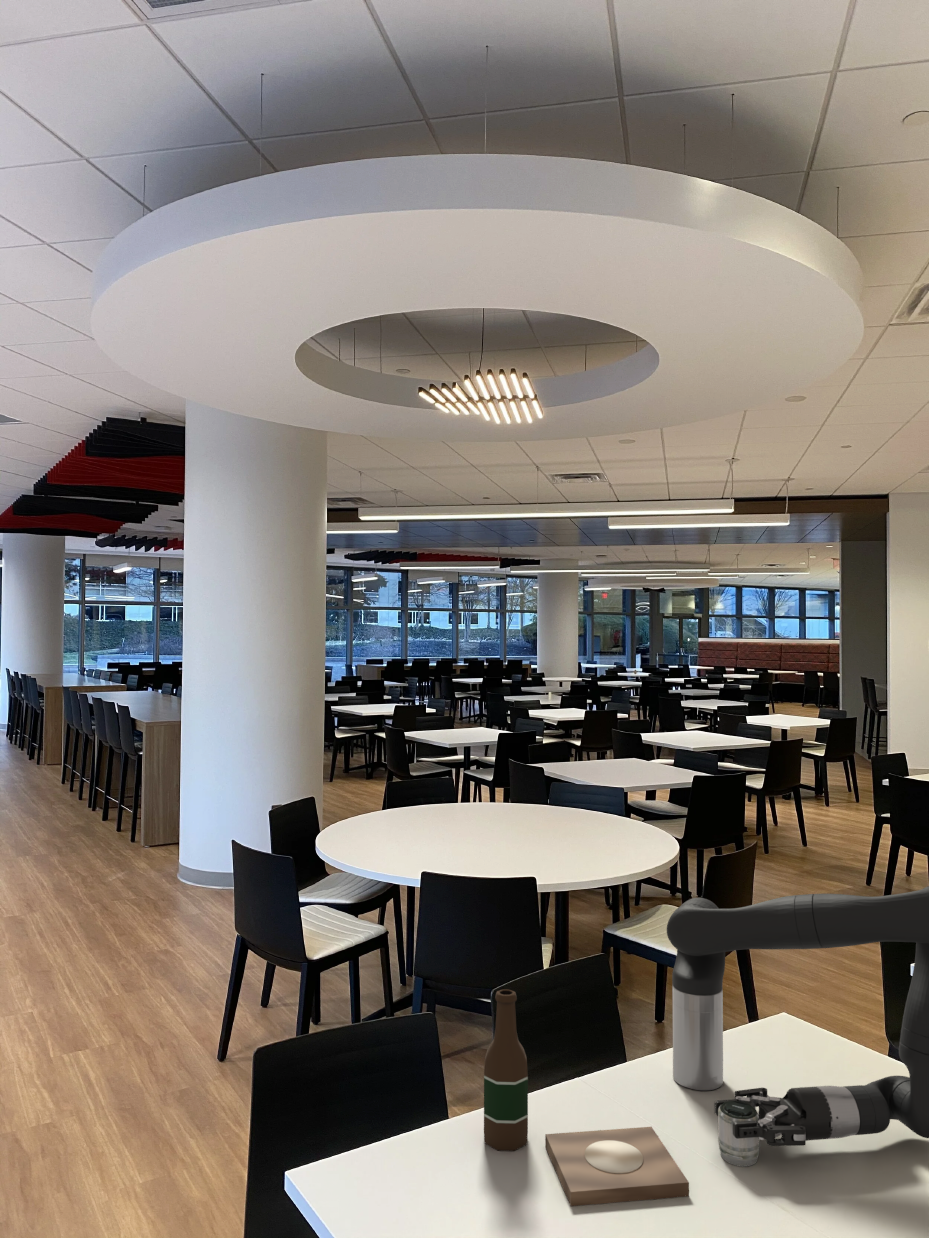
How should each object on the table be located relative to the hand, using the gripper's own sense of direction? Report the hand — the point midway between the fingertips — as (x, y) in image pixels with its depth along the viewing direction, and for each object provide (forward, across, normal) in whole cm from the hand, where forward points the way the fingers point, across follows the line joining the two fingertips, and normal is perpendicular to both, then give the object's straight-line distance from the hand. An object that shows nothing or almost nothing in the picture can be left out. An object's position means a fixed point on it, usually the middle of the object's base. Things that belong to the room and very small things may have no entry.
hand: (724, 1119), depth 144 cm
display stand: (+19, +1, +6) cm, 20 cm away
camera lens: (-2, 0, +6) cm, 7 cm away
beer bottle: (+34, -10, +6) cm, 36 cm away
